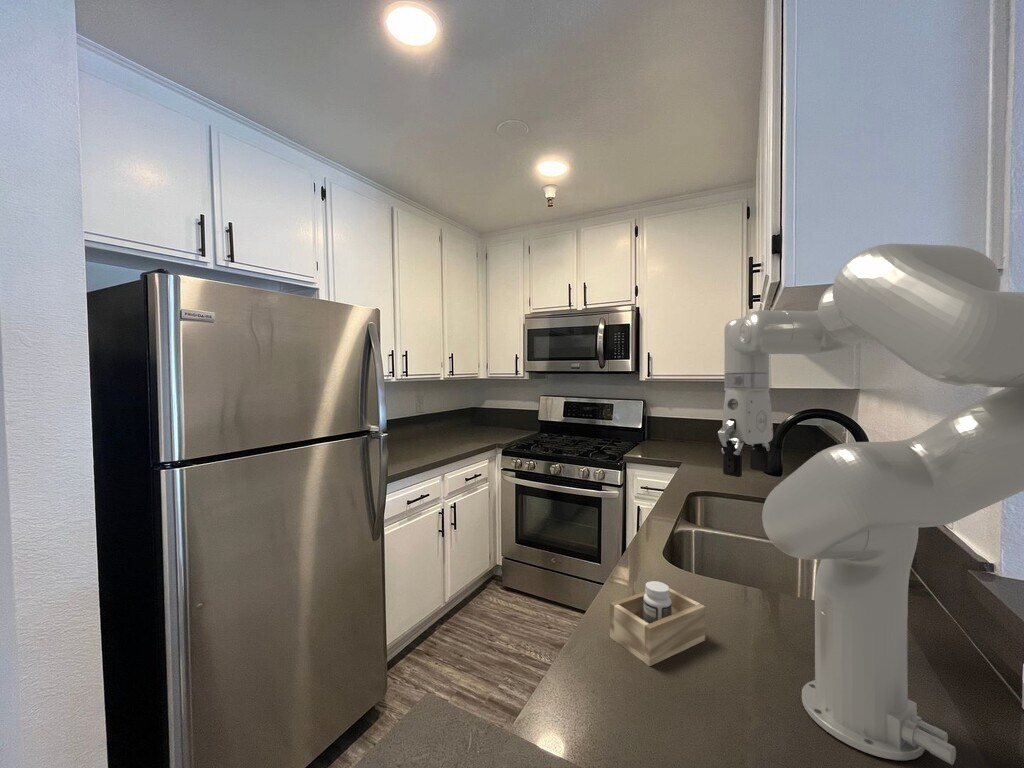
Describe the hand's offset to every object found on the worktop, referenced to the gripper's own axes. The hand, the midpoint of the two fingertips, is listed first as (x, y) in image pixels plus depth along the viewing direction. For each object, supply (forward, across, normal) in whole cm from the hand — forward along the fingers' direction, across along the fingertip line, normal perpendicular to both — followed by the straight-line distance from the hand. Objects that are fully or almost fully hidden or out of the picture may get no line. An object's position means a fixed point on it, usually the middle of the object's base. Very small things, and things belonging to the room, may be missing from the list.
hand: (746, 472), depth 79 cm
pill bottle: (+28, -19, +6) cm, 34 cm away
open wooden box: (+28, -19, +6) cm, 35 cm away
